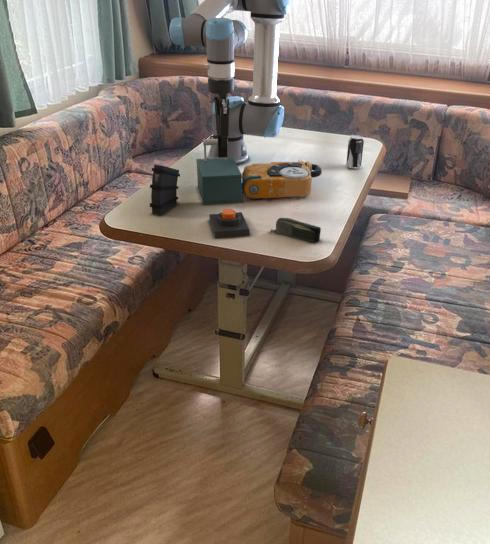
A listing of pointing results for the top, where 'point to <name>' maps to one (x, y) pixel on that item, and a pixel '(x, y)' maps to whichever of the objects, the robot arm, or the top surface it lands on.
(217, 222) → the control block
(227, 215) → the button
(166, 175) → the magazine
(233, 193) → the teal rectangular block
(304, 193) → the device
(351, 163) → the beverage can
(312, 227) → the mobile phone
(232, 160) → the lid
